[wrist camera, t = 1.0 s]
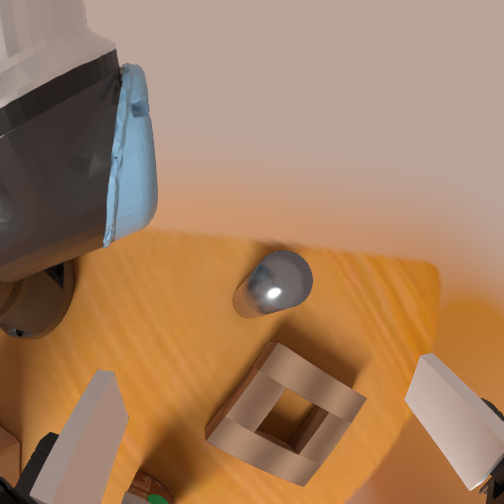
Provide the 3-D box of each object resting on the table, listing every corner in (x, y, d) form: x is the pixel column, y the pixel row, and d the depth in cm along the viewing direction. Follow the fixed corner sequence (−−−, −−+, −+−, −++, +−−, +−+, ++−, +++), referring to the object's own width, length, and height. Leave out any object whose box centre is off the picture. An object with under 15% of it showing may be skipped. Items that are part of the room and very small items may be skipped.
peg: (225, 304, 32) (244, 284, 19) (245, 277, 33) (277, 239, 20) (254, 325, 32) (293, 319, 19) (273, 297, 33) (322, 272, 20)
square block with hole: (204, 429, 27) (205, 441, 24) (269, 341, 32) (278, 341, 28) (293, 473, 27) (303, 486, 23) (350, 392, 31) (366, 398, 28)
